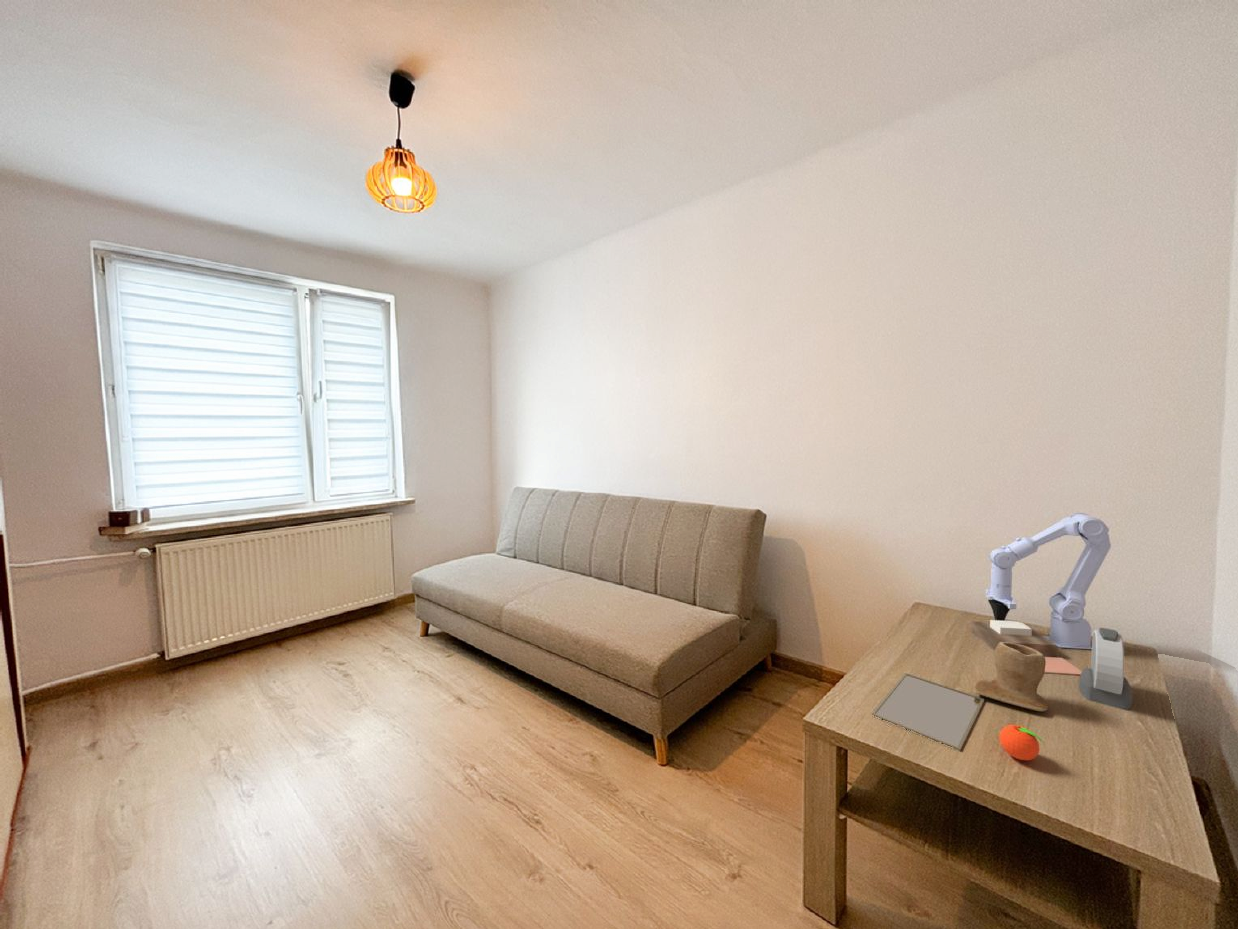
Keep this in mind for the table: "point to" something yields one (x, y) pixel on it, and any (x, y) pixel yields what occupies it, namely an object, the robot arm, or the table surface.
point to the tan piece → (1016, 677)
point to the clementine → (1019, 742)
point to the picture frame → (930, 710)
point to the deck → (1014, 639)
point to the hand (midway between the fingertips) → (999, 621)
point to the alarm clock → (1106, 672)
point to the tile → (1010, 628)
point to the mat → (1060, 667)
